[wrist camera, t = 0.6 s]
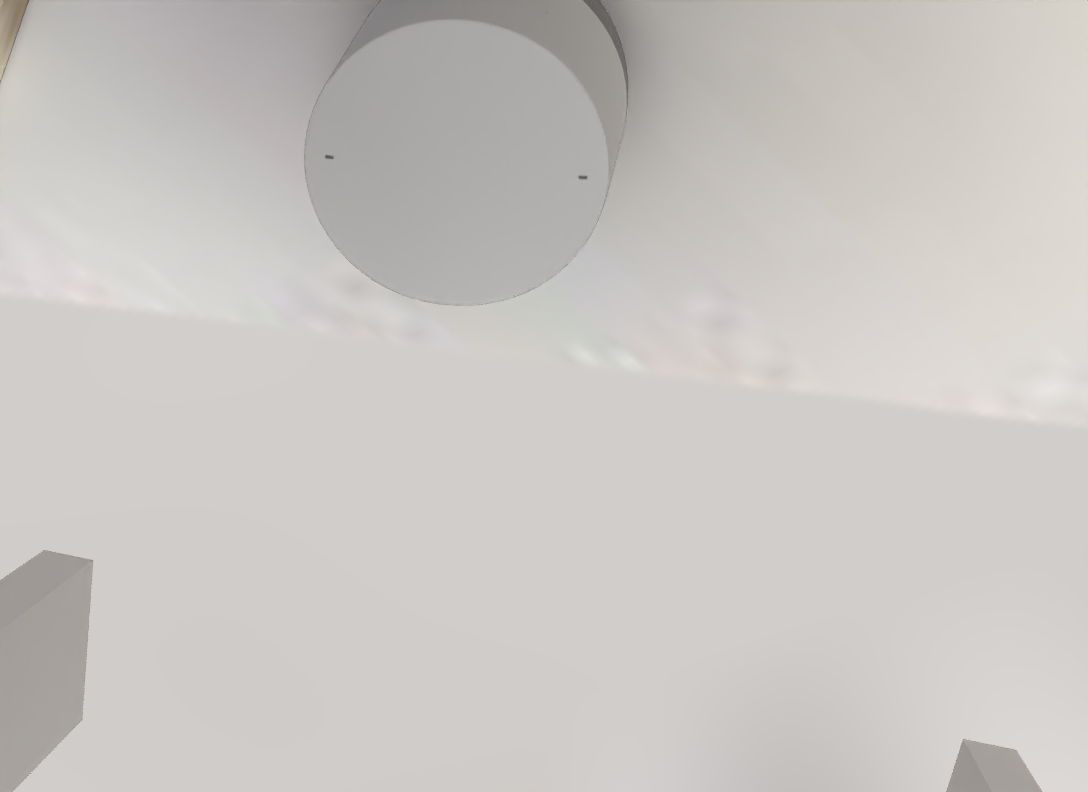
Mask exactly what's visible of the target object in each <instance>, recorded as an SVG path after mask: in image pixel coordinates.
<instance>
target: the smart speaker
mask: <svg viewBox="0 0 1088 792" xmlns="http://www.w3.org/2000/svg"><path fill="white" fill-rule="evenodd" d="M627 104H628V78H627V67H626V62H625V57H624V52H623V49H622V45H621V42H620V39H619V37H618V34H617V31H616V29H615V27H614V25H613V23H612V21H611V18H610V17H609V15H608V13H607V11H606V10H605V8H604V7H603V5H602V4H601V3H600V1H599V0H381V1H380V2H379V3H378V4H377V5H376V7H375V8H374V9H373V10H372V12H371V13H370V14H369V16H368V17H367V19H366V20H365V22H364V24H363V25H362V27H361V28H360V30H359V32H358V33H357V35H356V36H355V38H354V40H353V41H352V43H351V44H350V46H349V48H348V49H347V51H346V52H345V54H344V56H343V57H342V59H341V60H340V62H339V64H338V65H337V67H336V68H335V70H334V72H333V73H332V75H331V76H330V78H329V80H328V81H327V83H326V84H325V86H324V88H323V90H322V91H321V93H320V95H319V97H318V99H317V102H316V104H315V106H314V109H313V111H312V114H311V117H310V121H309V125H308V129H307V134H306V141H305V154H304V161H305V175H306V182H307V186H308V191H309V194H310V198H311V201H312V204H313V207H314V209H315V212H316V214H317V216H318V219H319V221H320V223H321V225H322V226H323V228H324V230H325V231H326V233H327V235H328V236H329V238H330V239H331V240H332V242H333V243H334V244H335V246H336V247H337V249H338V250H339V251H340V252H341V253H342V254H343V255H344V256H345V258H346V259H347V260H348V261H349V262H350V263H351V264H353V265H354V266H355V267H356V268H357V269H359V270H360V271H361V272H362V273H364V274H365V275H366V276H368V277H369V278H371V279H372V280H373V281H375V282H377V283H379V284H380V285H382V286H384V287H386V288H388V289H390V290H392V291H394V292H397V293H399V294H402V295H404V296H407V297H410V298H414V299H417V300H421V301H425V302H430V303H436V304H441V305H453V306H472V305H482V304H489V303H494V302H499V301H503V300H506V299H510V298H513V297H516V296H519V295H521V294H524V293H526V292H528V291H530V290H532V289H534V288H536V287H538V286H540V285H541V284H543V283H544V282H546V281H547V280H549V279H550V278H552V277H553V276H554V275H556V274H557V273H558V272H559V271H561V270H562V269H563V268H564V267H565V266H566V265H567V264H568V263H569V262H570V261H571V260H572V259H573V258H574V257H575V256H576V255H577V253H578V252H579V251H580V250H581V248H582V247H583V246H584V244H585V243H586V241H587V240H588V238H589V237H590V235H591V233H592V231H593V230H594V228H595V226H596V224H597V222H598V219H599V217H600V214H601V212H602V209H603V206H604V203H605V200H606V197H607V193H608V189H609V185H610V182H611V178H612V174H613V170H614V167H615V163H616V159H617V155H618V152H619V148H620V144H621V140H622V136H623V132H624V127H625V122H626V114H627Z"/></svg>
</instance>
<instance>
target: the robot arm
mask: <svg viewBox="0 0 1088 792" xmlns="http://www.w3.org/2000/svg"><path fill="white" fill-rule="evenodd" d="M92 569H93V560H89V559H84V558H80V557H75V556H70V555H65V554H61V553H56V552H51V551H46V550H44V551H42V552H41V553H39V554H38V555H37V556H35V557H34V558H32V559H31V560H29V561H28V562H26V563H25V564H23V565H22V566H21V567H19V568H18V569H16V570H15V571H13V572H12V573H10V574H9V575H7V576H6V577H4V578H3V579H1V580H0V792H13V791H14V790H15V789H16V788H17V787H18V786H19V785H20V784H21V782H23V781H24V779H25V778H26V777H27V776H28V775H29V774H30V773H31V772H32V771H33V770H34V769H35V768H36V767H37V766H38V765H39V764H40V763H41V762H42V761H43V760H44V759H45V758H46V757H47V756H48V754H50V753H51V751H53V749H54V748H55V747H56V746H57V745H58V744H59V743H60V742H61V741H62V740H63V739H64V738H65V737H66V736H67V735H68V734H69V733H70V732H71V731H72V730H73V729H74V728H75V727H76V726H77V725H78V724H79V723H80V721H81V720H82V715H83V701H84V685H85V671H86V657H87V642H88V628H89V613H90V598H91V584H92ZM946 792H1042V791H1041V789H1040V787H1039V786H1038V784H1037V783H1036V781H1035V780H1034V778H1033V776H1032V775H1031V773H1030V771H1029V770H1028V768H1027V767H1026V765H1025V763H1024V762H1023V760H1022V759H1021V757H1020V755H1019V754H1018V752H1017V751H1016V750H1014V749H1009V748H1004V747H999V746H995V745H990V744H984V743H980V742H975V741H970V740H965V739H963V742H962V744H961V748H960V751H959V754H958V757H957V760H956V763H955V766H954V769H953V773H952V776H951V779H950V782H949V785H948V788H947V791H946Z"/></svg>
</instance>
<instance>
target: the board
mask: <svg viewBox="0 0 1088 792" xmlns="http://www.w3.org/2000/svg"><path fill="white" fill-rule="evenodd" d="M27 3H28V0H0V81H1V78H2V75H3V72H4V69H5V66H6V63H7V61H8V58H9V55H10V52H11V49H12V46H13V43H14V40H15V37H16V35H17V32H18V29H19V26H20V23H21V20H22V17H23V14H24V11H25V9H26V6H27Z"/></svg>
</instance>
